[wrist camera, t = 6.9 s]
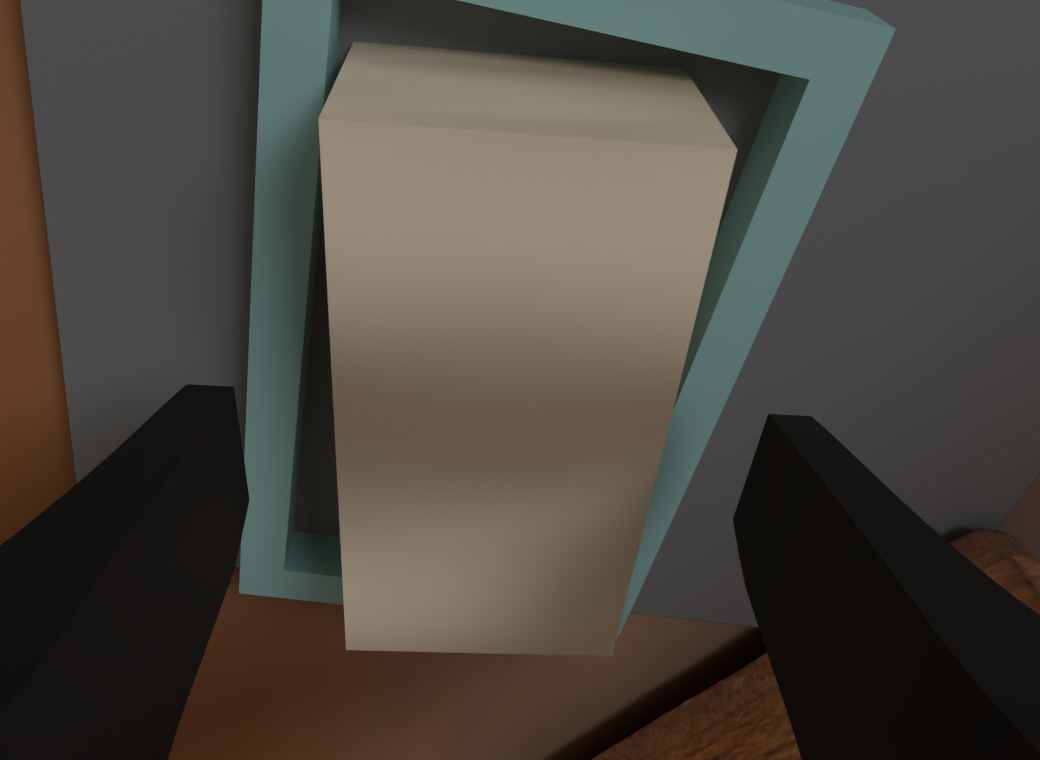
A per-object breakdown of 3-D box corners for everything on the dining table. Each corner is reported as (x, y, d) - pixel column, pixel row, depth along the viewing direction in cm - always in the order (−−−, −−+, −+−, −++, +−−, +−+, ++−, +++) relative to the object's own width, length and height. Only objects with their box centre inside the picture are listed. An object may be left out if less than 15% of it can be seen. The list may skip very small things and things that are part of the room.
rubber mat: (1832, -616, 9) (1900, -634, 8) (898, 626, 20) (907, 644, 20) (-121, -1506, 6) (-169, -1604, 5) (93, 530, 17) (84, 549, 17)
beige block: (593, 528, 17) (611, 656, 14) (366, 519, 17) (345, 650, 14) (685, 68, 12) (738, 149, 9) (353, 41, 11) (318, 118, 9)
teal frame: (866, 9, 11) (896, 28, 10) (613, 597, 18) (619, 635, 17) (285, -131, 10) (266, -122, 9) (250, 553, 17) (238, 592, 16)
